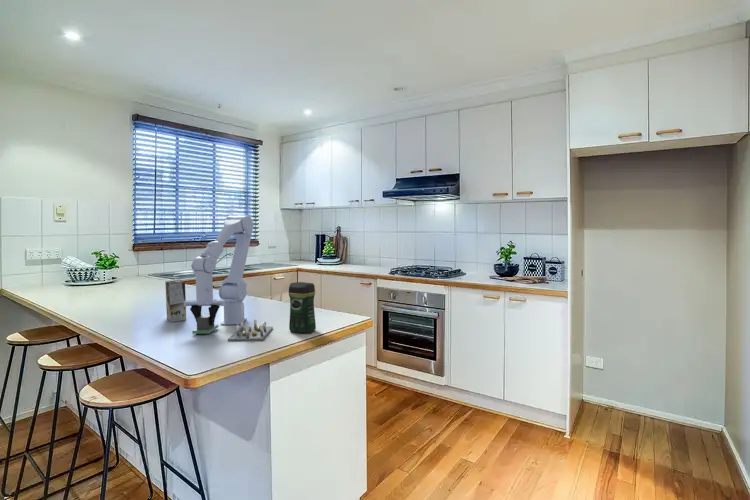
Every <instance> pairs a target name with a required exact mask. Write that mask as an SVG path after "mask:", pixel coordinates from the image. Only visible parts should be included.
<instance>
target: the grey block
mask: <svg viewBox="0 0 750 500" xmlns="http://www.w3.org/2000/svg"><path fill="white" fill-rule="evenodd" d="M218 328H219V324H215V323H214V325H212V326H210V314H209V313H203V314H202V313H201V315H200V316H199V317H197V322H196V328H194V329H193V330H192V334H193V335H194V334H197V335H198V334H200V335H201V334H207V335H209V334H211V333H212V332H214V331H215V330H216V329H218Z"/></svg>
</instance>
